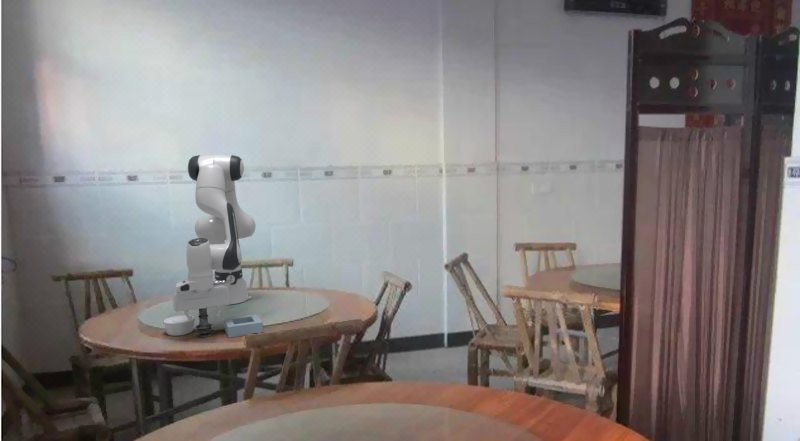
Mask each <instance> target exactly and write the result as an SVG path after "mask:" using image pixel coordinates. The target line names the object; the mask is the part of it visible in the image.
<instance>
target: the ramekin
mask: <svg viewBox="0 0 800 441" xmlns="http://www.w3.org/2000/svg"><path fill="white" fill-rule="evenodd" d="M188 315H189V316H192V322H188V318H187V316H186V315H185V314H180V315H179V314H178V315H173V316H170V317H167V318H164V320H163V325H164V328H165V331H166V334H168V336H174V337H175V336H177V337H178V336H184V335H188V334H191V333H192V332H193V331H194V329H195V321H196V317H195V316H194V315H191V314H188Z"/></svg>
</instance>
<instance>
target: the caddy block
mask: <svg viewBox="0 0 800 441" xmlns="http://www.w3.org/2000/svg"><path fill="white" fill-rule="evenodd" d="M224 328H225V329H224ZM223 329H224V331H225V333H226V335H227V337H228V339H229V338H237V337H242V336H244V337H245V336H246V335H245V334H251V333H258V334H260V333H259V332H263V333H264V322H263V321H262V320H261V318H260V316H259V315H258V314H257V313H254V314H247V315H239V316H233V317H225V318H223ZM251 335H252V334H251Z"/></svg>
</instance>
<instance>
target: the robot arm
mask: <svg viewBox="0 0 800 441" xmlns="http://www.w3.org/2000/svg"><path fill="white" fill-rule="evenodd" d="M244 171H245V166H244V162H243V159H242V158H241V157H240V156H237V155H235V154H234V155H233V154H232V155H228V154H206V155H199V154H198V155H193V156H192V157H191V158H190V159H189V160H188V164H187V173H188V176H189V178H190V179H192V181H195V182H196V185H195V196H194V197H195V204H196V206H197V207H198V209H199V210H200V211H202V212H203V213H204V214H207V216H203V217H200V218H198V219H197V220H196V222H195V226H194V232H195V235H196V238H193V239H190V240H189V241H188V242H187V245H186V266H187V268H188V269H187V270H188V272H187V278H186V279H183V280H181V281H179V282H176V284H175V291H174V293H173V304H172V306H173V310H174V312H183V313H184V315H186V316H187V318H188V322H192V316H193V315H192V316H189V315H190V314H189V311H192V310H199V309H202V308H207V309H208V308H217V310H216V312H214V313H213V315H214V319H220V312H222V307H224V306H225V307H226V306H230V305H235V304H236V305H237V304H240V303H244V302H246V301H247V300H251V299H252V298H253V297H252V295H250V294H248V286H247V281H246V280H245V279H244V278H243V273H244V272H243V268H242V260H243V254H242V250H241V245H240V241H239V240H240V239H245V238H249V237H252V236H253V235H254V233H255V231H256V228H257V226H256V222H255V220H254V217H253V216H251V215H250V214H248V213H246V212H245V211H244V210H243V208H241V207H240V205H239V202H238V200H237V192H236V184H235V181H240V179H242V177H243V175H244ZM225 241H226V242H225ZM213 270H214V272H213Z"/></svg>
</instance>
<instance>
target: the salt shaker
mask: <svg viewBox="0 0 800 441" xmlns="http://www.w3.org/2000/svg"><path fill="white" fill-rule="evenodd" d="M208 317H209V314H208V308H202V309H198V316H197V318H198V319H199V322H198V325H196V326H195V328H196V331H197V332H198V333H199V334H197V336H196V337H197V338H198V339H199V338H200V339H203V338H204V339H206V338H210V337H212V336H213V333H212V332H211V331H212V327H213V324H211V323H209V318H208Z"/></svg>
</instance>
